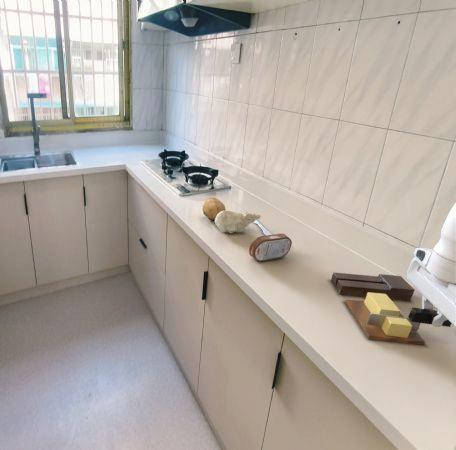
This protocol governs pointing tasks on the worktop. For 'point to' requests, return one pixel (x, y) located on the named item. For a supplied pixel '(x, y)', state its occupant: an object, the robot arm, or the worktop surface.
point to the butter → (381, 304)
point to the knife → (409, 318)
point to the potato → (212, 207)
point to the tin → (270, 247)
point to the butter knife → (262, 227)
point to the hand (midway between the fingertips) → (430, 319)
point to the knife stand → (372, 285)
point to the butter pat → (396, 327)
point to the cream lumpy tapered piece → (234, 221)
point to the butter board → (377, 332)
